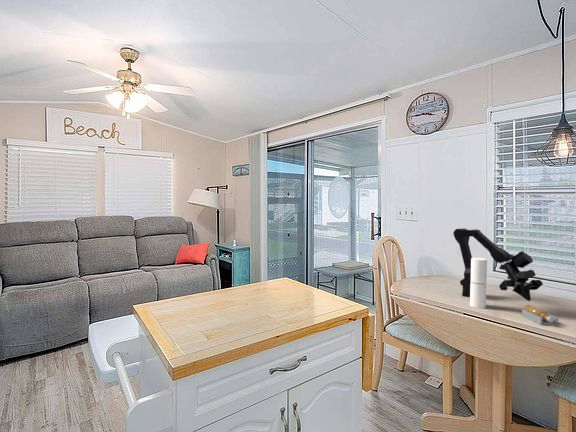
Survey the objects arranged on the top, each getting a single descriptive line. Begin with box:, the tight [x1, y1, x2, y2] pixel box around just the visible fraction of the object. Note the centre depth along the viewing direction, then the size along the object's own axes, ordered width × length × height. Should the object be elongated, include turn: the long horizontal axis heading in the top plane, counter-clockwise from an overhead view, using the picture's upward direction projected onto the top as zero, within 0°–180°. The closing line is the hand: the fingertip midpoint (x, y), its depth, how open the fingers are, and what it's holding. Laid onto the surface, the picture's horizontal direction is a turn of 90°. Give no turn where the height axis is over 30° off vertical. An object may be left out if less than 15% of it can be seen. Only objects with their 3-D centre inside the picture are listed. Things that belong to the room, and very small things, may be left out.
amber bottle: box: [523, 304, 554, 323], centre depth 150 cm, size 4×4×14 cm
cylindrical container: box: [469, 257, 488, 309], centre depth 169 cm, size 7×7×25 cm
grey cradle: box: [521, 308, 559, 326], centre depth 150 cm, size 11×8×3 cm
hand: (529, 300), depth 156 cm, fingers closed
